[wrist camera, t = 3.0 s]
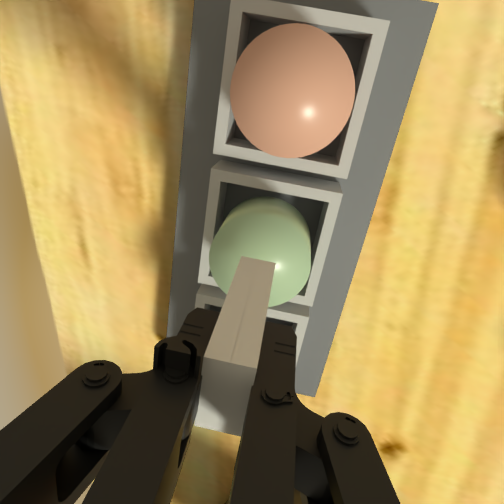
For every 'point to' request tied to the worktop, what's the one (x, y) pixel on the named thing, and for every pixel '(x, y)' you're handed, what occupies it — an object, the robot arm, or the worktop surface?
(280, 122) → the terracotta button
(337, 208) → the button panel
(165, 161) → the worktop surface
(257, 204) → the sage button
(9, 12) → the worktop surface
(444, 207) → the worktop surface
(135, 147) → the worktop surface
